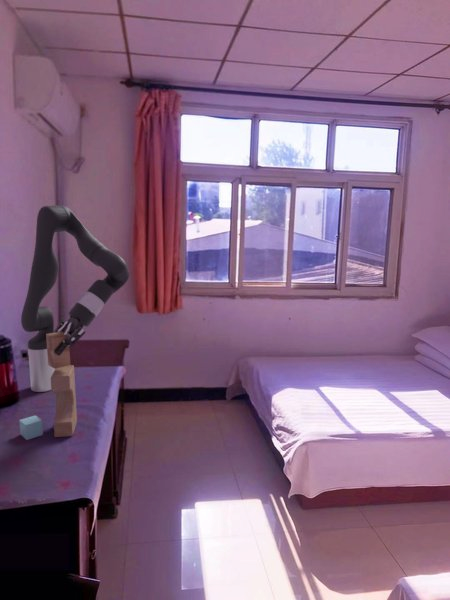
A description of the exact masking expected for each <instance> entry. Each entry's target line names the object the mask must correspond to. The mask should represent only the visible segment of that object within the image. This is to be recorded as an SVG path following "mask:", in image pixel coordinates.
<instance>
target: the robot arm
mask: <svg viewBox="0 0 450 600" xmlns="http://www.w3.org/2000/svg"><path fill="white" fill-rule="evenodd" d="M35 230H36V232H35V245H34V252H33V259H32V264H31V268H30V269H31V270H30V276H29V277H30V278H29V284H28V289H27V294H26V297H25V300H24V305H23V307H22V312H21V316H20V319H21V320H20V321H21V322H20V323H21V327H22V329H23V330H24V331H25V332H27V333H35V332H37V334H36V335H35V336H33V337H32V338H30V339H29V340H28V341H27V349H28V350H27V351H28V362H29V363H28V365H29V379H30V390H31V391H32V392H35V393H36V392H37V393H43V392H49V391H51V376H52V374H53V372H54V371H55V369H54V368H53V367H51V366H49V365H48V355H47V339H46V334H49V333H55V332H64V335H65V337H64V338H63V340H62V342H61V343H60V344H59V345H58V346H57V348H56V349H55V350H54V353H55V354H57V355H58V356H60V355H61V354H62V352H63V351H64V350H65V348H66V347H67V346H69V347H70V346H71V347H74V345H75V344H76V343H77V342H78V341H79V340H80V339H81V338H82V337H83V336H84V335H85V334H86V331H85V330H84V327H86V328H88V327H89V326H91V324H92V322H93V321H94V320H95V318H97V316H98V315H99V314H100V312H101V311H102V309H103V307H104V306H105V305H106V303H107V302H108V301H109V300H110V298H111V297H112V295H114V294H115V293H117V292H118V291H119V290H120V289H121V288H123V286H124V285H126V284H127V282H128V280H129V278H130V270H129V268H128V265H127V263H126V260H124V259H123V258H122V257H121V256H120V255H119V254H117V253H116V252H114V251H113V250H110V249H109V248H107V247H106V246H105V245H104V244H103V243H102V242H100V241H99V239H97V238H96V237H95V236H94V235H93V234H92V233H90V231H89V230H88V229H87V228H86V227H85V226H84V224H83V223H82V222H81V220H79V218H78V217H77V216H76V215H75V213H74V212H73V211H72V210H71V209H70V208H69V207H67V206H66V205H59V204H58V205H57V204H56V205H45V206H42V207H41V208H40V209H39V211H38V213H37V217H36V228H35ZM58 232H66V233H68V234H69V235H71V236H72V237H73V238H74V239H75V241H76V242H77V247H78V250H79V251H80V253H82V255H83V256H84V257H85V258H86V259H88V260H89V261H90V262H91V263H92V264H93V265H95V266H96V267H100V268H102V269H103V270H104V271H105V273H106V274H107V275H106V276H105V277H104V278H103V279H97V280H95V281H94V282H93V283H92V284H91V286H90V287H89V288H88V289H87V290H86V292H85V293H83V295H81V297H80V298H79V299H78V301H77V302H76V303H75V304H74V305H73V307H72V308H71V309H70V311H69V312H68V315H69V318H68V319H66V321H64V320H60V321H59V323H58V325H57V326H56V328H55V318H54V312H53V311H52V309H51V308H50V307H49V306H48V305H43V306H40V305H41V303H42V301H43V300H44V298H45V297H46V296H47V294H49V292H50V291H51V290H52V289H53V288H54V286H55V284H56V283H57V278H58V275H59V273H58V272H59V269H60V267H59V260H58V258H57V256H56V253H55V251H54V248H53V240H54V236H55V233H58Z"/></svg>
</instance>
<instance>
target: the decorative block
mask: <svg viewBox="0 0 450 600" xmlns="http://www.w3.org/2000/svg"><path fill="white" fill-rule="evenodd" d="M75 377H76V376H75V366H74V365H73V364H70V365H69V366H65V367H60V368H56V369H55V371H54V372H53V374H52V376H51V390H50V391H51V392H54V393H53V394H54V396H55V397H54V398H55V413H54V414H55V415H54V422H53V436H54V437H55V438H56V437H57V438H67V437H73V435H74V433H75V428H76V425H77V422H78V415H77V413H78V411H77V399H76V397H77V395H76V380H75V379H76V378H75Z"/></svg>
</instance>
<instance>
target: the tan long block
mask: <svg viewBox="0 0 450 600" xmlns="http://www.w3.org/2000/svg"><path fill="white" fill-rule="evenodd" d="M64 337H65V335H64V332H55V333H49V334H46V339H47V355H48V365H49V366H51V367H53V368H54V369H56V368H60V367H65V366H69V365H71V353H70V346H67V347H66V348H65V350H64V351H63V352H62V354H61V355H60V356H58V355H57V354H55V353H54V350H55V349H56V348H57V346H58V345H59V344H60V343H61V342H62V340H63V338H64Z"/></svg>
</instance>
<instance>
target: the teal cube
mask: <svg viewBox="0 0 450 600" xmlns="http://www.w3.org/2000/svg"><path fill="white" fill-rule="evenodd" d="M18 422H19V434H20V436H22V438H23V439H25V440H26V441H28V440H32V439H34V438H38V437H40V436H43V434H44V433H43V420H42V419H41V418H40V417H38V416H37V415H31V416H29V417H25V418H22V419H19V421H18Z"/></svg>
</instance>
